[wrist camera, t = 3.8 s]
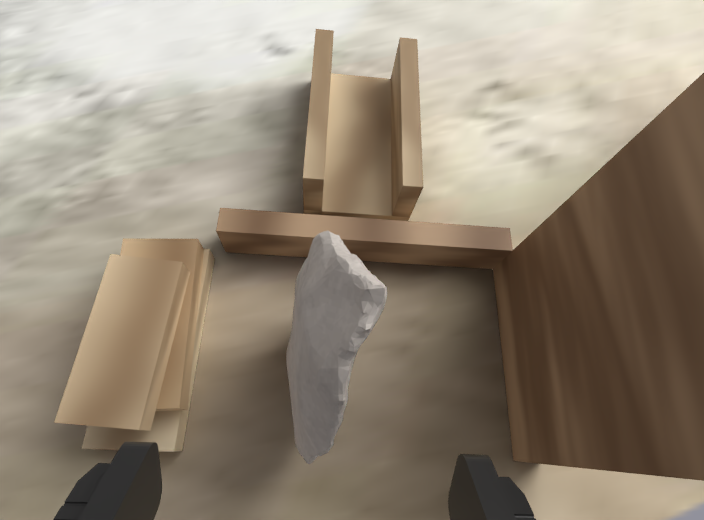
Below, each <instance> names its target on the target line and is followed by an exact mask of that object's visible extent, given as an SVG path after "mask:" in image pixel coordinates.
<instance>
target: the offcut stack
mask: <svg viewBox="0 0 704 520" xmlns="http://www.w3.org/2000/svg"><path fill="white" fill-rule="evenodd" d="M214 261H215V258H214V256H213V254H212V253H211V251H210V249H203V247H202V245H201V244H200V242H199V240H198V239H123V243H122V248H121V253H120V255H115V254H110V257H109V260H108V263H107V266H106V269H105V272H104V275H103V278H102V281H101V284H100V287H99V290H98V293H97V296H96V299H95V302H94V305H93V308H92V311H91V314H90V317H89V320H88V323H87V326H86V329H85V332H84V335H83V338H82V341H81V344H80V347H79V350H78V353H77V356H76V359H75V362H74V365H73V368H72V371H71V373H70V376H69V379H68V382H67V385H66V388H65V391H64V394H63V397H62V400H61V403H60V406H59V409H58V412H57V415H56V418H55V421H54V423H65V424H77V425H87V428H86V432H85V436H84V440H83V444H82V448H81V449H99V450H119V449H120V447H121V445H122V444H123V443H124V442H126V441H128V442H156V443H157V445H158V450H159V451H167V452H176V451H182V450H183V444H184V438H185V432H186V426H187V421H188V415H189V409H190V403H191V397H192V391H193V385H194V379H195V373H196V367H197V361H198V355H199V350H200V344H201V338H202V332H203V326H204V320H205V314H206V308H207V302H208V296H209V290H210V284H211V279H212V273H213V267H214Z"/></svg>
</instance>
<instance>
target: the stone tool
mask: <svg viewBox="0 0 704 520" xmlns="http://www.w3.org/2000/svg"><path fill="white" fill-rule="evenodd" d="M386 299H387V287H385V285H384V284H383V283H382V282H381V281H380V280H378V279H377V277H376V276H375V275H372V274H371V272H370V271H368V269H367V268H366V267H365V265H364V264H363V262H362V261H361V260H360V258H358V257H357V255H355V254H351V253H350V251H349V250H348V249H347V247H346V246H345V245H344V243H343V241H342V240H341V238H340V236H339V235H336V234H333V233H331V232H330V231H323V232H321V233H319V234H318V235H316V236H315V238H314V239H313V241H312V244H311V247H310V250H309V254H308V257H307V259H306V260H305V262H304V263H303V265H302V267H301V269H300V272H299V274H298V276H297V278H296V284H295V301H294V310H293V322H292V331H291V335H290V340H289V344H288V347H287V352H286V363H287V372H288V379H289V391H290V398H291V407H292V416H293V424H294V435H295V445H296V447H297V449H298V451H299V453H300V454H301V456H303V457H304V460H305V461H306V463H308V464H310V463H312V462H313V461H314V460H315V459H316V458H317V457H318V456H322V455H323V454H326V453H328V451H329V450H330V448H331V447H332V446H333V445H334V437H335V435H336V433H337V431H338V429H339V427H340V425H341V423H342V420H343V414H344V410H345V407H346V405H347V401H348V386H349V381H350V376H351V371H352V367H353V363H354V359H355V356H356V354H357V351H358V349H359V347H360V345H361V344H362V343H363V342H364V340H365V339H366V338H367V336H368V335H369V333H370V332H371V331H372V329H373V327H374V325H375V324H376V322H377V320H378V318H379V317H380V315H381V313H382V311H383V309H384V306H385V303H386Z"/></svg>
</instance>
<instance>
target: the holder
mask: <svg viewBox="0 0 704 520" xmlns="http://www.w3.org/2000/svg"><path fill="white" fill-rule="evenodd" d="M333 32H334V31H331V30H321V29H316V34H315V45H314V57H313V68H312V79H311V91H310V102H309V113H308V124H307V136H306V147H305V158H304V170H303V205H304V214H314V215H328V216H342V217H356V218H371V219H385V220H399V221H408V220H409V218H410V215H411V213H412V211H413V209H414V207H415V204H416V202H417V200H418V198H419V195H420V193H421V191H422V189H423V169H422V145H421V121H420V97H419V73H418V49H417V39H409V38H400V40H399V44H398V49H397V53H396V58H395V62H394V67H393V71H392V75H391V79H384V78H374V77H363V76H353V75H342V74H332V73H331V66H332V49H333Z"/></svg>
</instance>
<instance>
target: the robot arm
mask: <svg viewBox="0 0 704 520" xmlns="http://www.w3.org/2000/svg"><path fill="white" fill-rule="evenodd" d="M161 493H162V478H161V469H160V460H159V450H158V445H157V443H156V442H128V441H126V442H124V443H123V444H122V445H121V447H120V449H119V450H118V452H117V454H116V455H115V457H114V459H113V460H112V462H111V464H107V463H98V464H97V465H96V466H95V467H93V468H92V469H91V470H90V471H89V472H88V473H87V474H85V475H84V476H83V477H82V478H81V479H80V480H78V482H77V483H76V485H75V487H74V488H73V490H72V491H71V493H70V494H69V496H68V497H67V499H66V501H65V504H64V506H62V507H61V508H60V510H59V511H58V513H57V515H56V516H55V518H54V520H154V517H155V515H156V512H157V510H158V507H159V503H160V499H161ZM448 506H449V515H450V520H536V519H534V514H533V512H532V510H531V508H530V505H529V503H528V501H527V499H526V497H525V495H524V494H523V492H522V491H521V490H520V489H519V488H518V487H517V486H516V485H515V483H514V482H513V481H512V480H511V479H510V478H509V477H498V475H497V472H496V470H495V468H494V465H493V463H492V461H491V459H490V457H489V456H487V455H470V454H460V455H459V456H458V458H457V462H456V466H455V471H454V475H453V479H452V483H451V487H450V491H449V498H448Z"/></svg>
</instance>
